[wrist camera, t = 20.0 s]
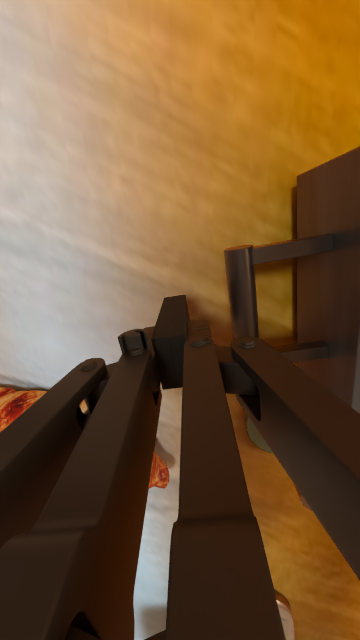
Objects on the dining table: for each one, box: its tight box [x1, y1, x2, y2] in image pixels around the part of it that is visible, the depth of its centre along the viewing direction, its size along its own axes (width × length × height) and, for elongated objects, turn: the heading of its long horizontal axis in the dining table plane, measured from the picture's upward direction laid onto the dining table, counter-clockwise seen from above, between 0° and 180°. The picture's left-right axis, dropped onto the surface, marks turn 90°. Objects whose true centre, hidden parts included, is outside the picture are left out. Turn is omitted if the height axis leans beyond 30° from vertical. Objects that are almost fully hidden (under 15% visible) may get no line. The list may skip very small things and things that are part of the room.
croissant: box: [0, 387, 169, 489], centre depth 23 cm, size 21×10×8 cm, turn 63°
